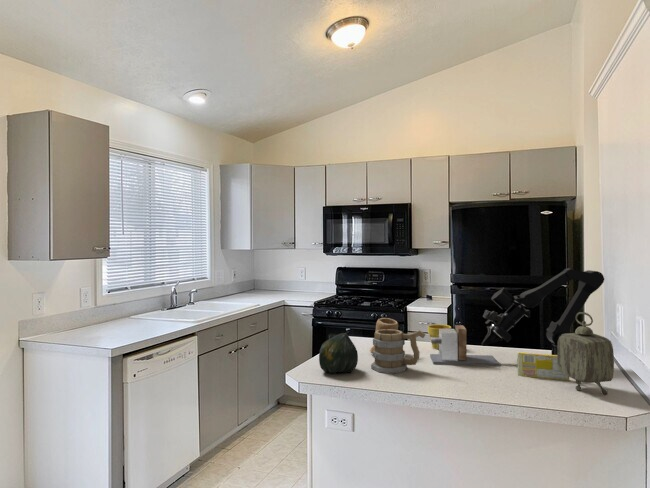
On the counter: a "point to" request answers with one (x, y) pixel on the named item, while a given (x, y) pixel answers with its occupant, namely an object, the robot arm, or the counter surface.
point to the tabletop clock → (586, 356)
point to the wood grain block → (460, 340)
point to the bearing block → (448, 345)
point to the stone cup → (385, 326)
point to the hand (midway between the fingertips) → (482, 345)
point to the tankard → (393, 350)
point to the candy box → (539, 366)
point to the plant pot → (436, 332)
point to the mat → (468, 360)
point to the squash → (338, 354)
